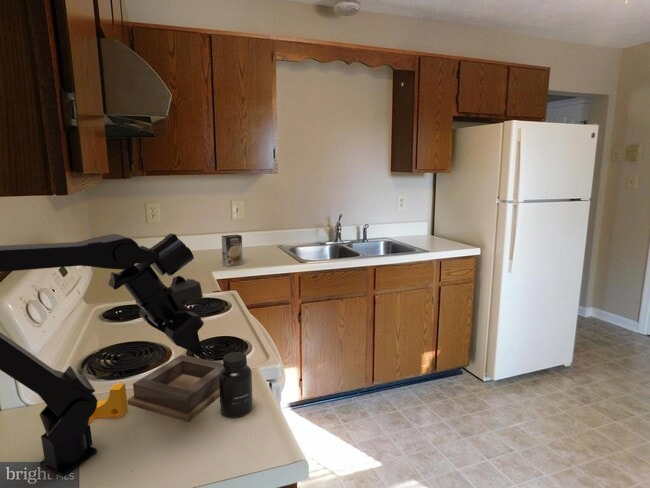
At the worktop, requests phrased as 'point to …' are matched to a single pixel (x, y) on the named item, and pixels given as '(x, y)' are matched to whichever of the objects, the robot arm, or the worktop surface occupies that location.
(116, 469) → the worktop surface
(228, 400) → the supplement bottle
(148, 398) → the grey-brown square frame
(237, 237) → the coffee box
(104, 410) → the orange notched part
